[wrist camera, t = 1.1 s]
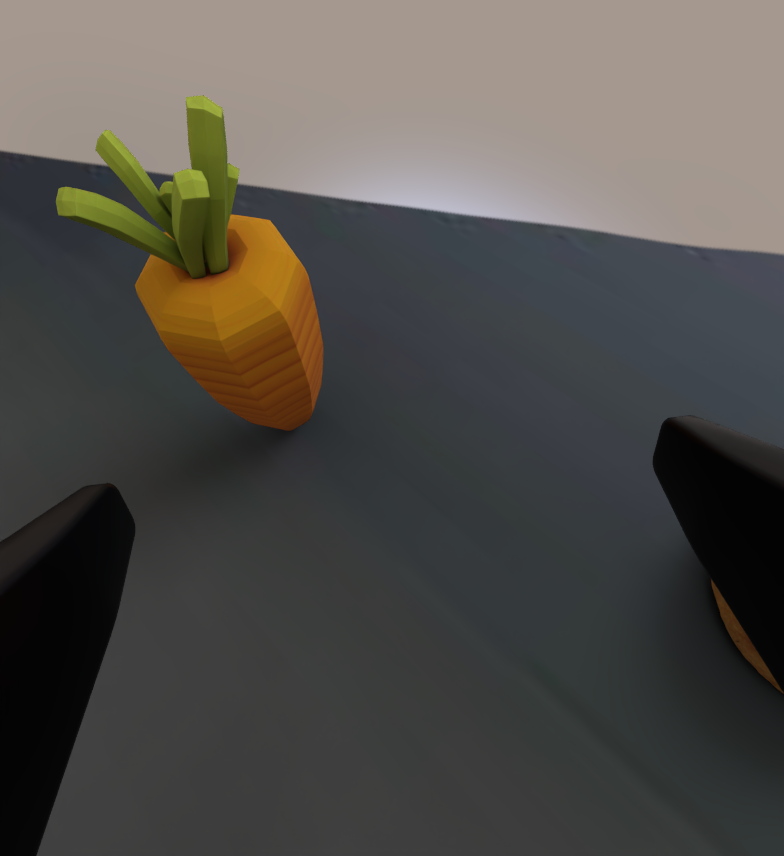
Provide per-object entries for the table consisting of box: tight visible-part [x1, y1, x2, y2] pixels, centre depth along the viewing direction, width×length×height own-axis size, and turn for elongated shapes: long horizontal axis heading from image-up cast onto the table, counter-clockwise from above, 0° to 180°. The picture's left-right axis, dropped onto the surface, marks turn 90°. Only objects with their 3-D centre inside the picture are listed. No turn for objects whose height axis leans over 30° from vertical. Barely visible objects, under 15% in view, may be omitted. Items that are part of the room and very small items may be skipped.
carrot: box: [56, 95, 323, 431], centre depth 17 cm, size 5×5×15 cm
